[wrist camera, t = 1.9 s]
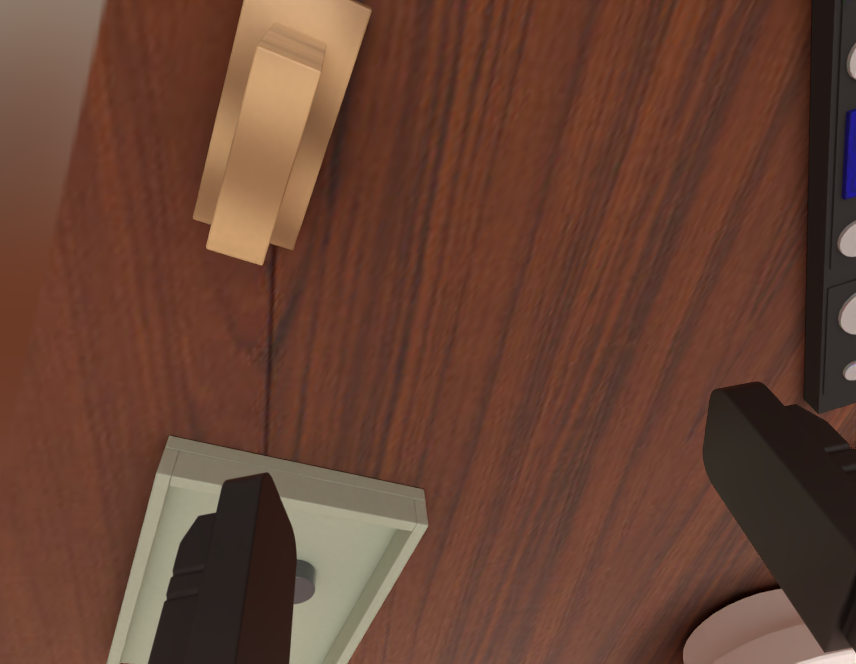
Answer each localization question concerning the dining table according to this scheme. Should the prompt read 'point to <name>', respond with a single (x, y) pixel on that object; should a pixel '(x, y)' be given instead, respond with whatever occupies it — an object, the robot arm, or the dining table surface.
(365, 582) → the tray
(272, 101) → the wooden board eraser
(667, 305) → the dining table surface
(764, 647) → the bowl
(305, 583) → the pebble
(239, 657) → the robot arm
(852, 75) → the remote control
